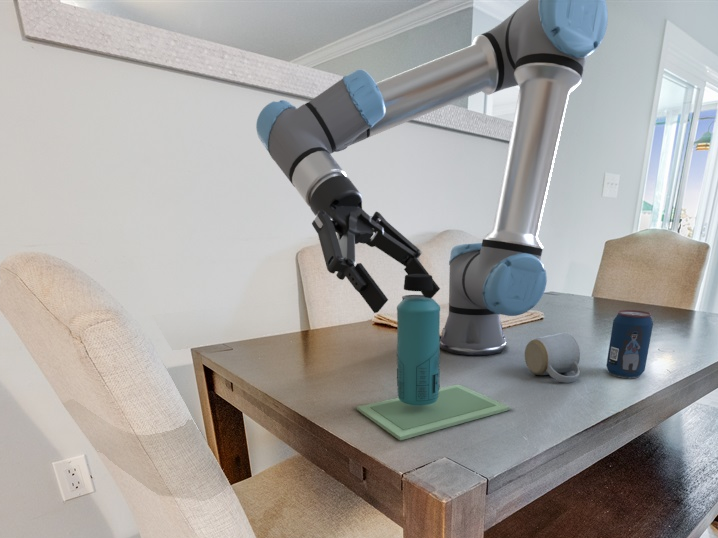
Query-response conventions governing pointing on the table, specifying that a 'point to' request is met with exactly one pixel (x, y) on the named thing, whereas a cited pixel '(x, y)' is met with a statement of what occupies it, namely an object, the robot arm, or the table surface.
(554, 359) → the ceramic mug
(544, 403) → the table surface
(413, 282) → the beverage bottle
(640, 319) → the soda can
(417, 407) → the scrub mat
